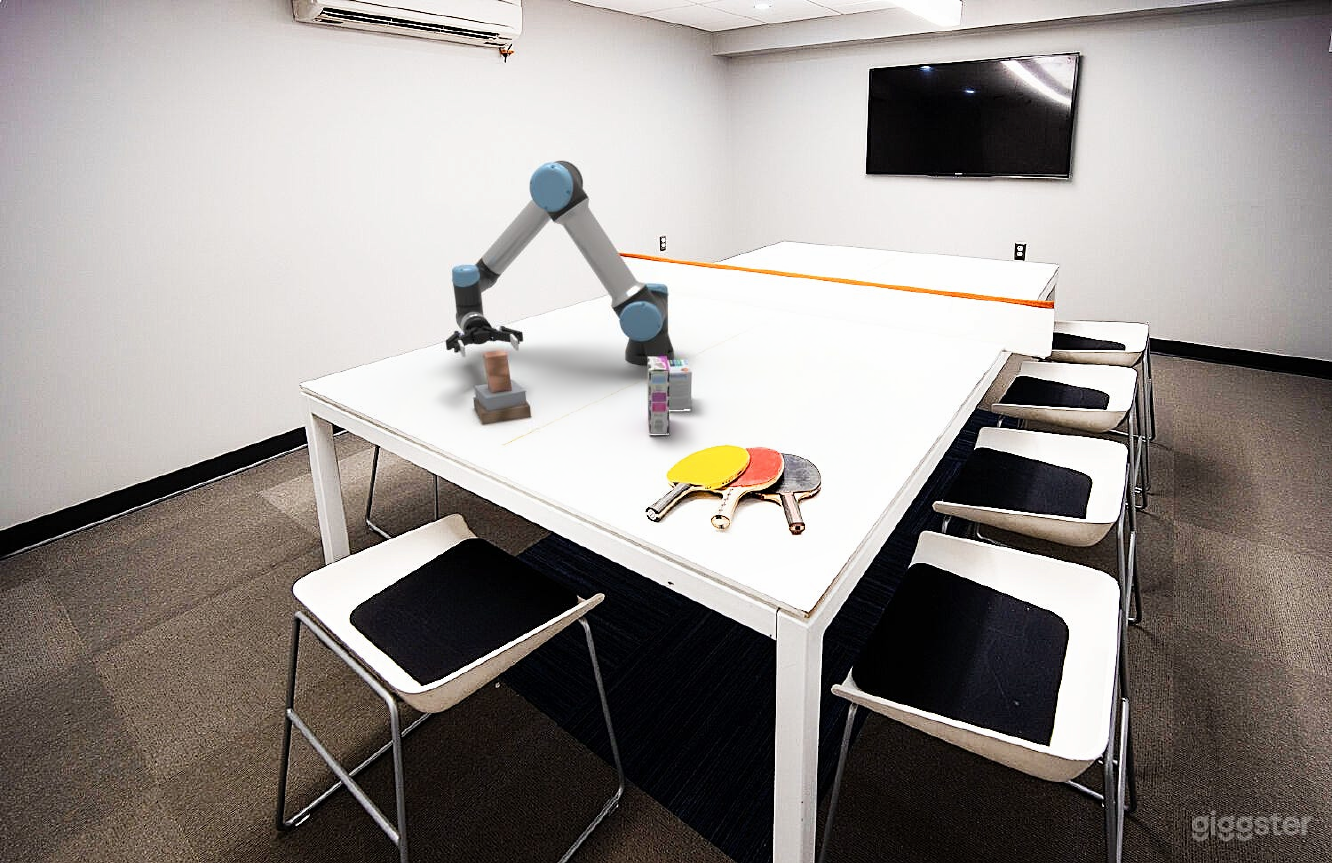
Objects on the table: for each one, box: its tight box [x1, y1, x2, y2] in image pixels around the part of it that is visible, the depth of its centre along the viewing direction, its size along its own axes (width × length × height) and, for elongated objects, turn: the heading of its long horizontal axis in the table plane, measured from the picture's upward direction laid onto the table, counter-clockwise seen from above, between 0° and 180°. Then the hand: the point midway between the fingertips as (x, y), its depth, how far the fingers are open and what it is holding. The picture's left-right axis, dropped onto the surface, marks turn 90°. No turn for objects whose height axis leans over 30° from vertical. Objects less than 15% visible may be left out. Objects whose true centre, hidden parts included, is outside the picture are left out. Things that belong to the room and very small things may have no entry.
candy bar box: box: [647, 356, 670, 434], centre depth 173 cm, size 11×5×16 cm, turn 3°
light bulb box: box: [668, 358, 693, 410], centre depth 188 cm, size 11×7×11 cm, turn 5°
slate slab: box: [474, 379, 527, 412], centre depth 185 cm, size 10×10×4 cm
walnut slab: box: [472, 396, 532, 426], centre depth 186 cm, size 12×12×4 cm
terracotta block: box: [482, 349, 512, 393], centre depth 182 cm, size 5×5×9 cm
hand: (490, 348), depth 188 cm, fingers open, 13 cm apart
